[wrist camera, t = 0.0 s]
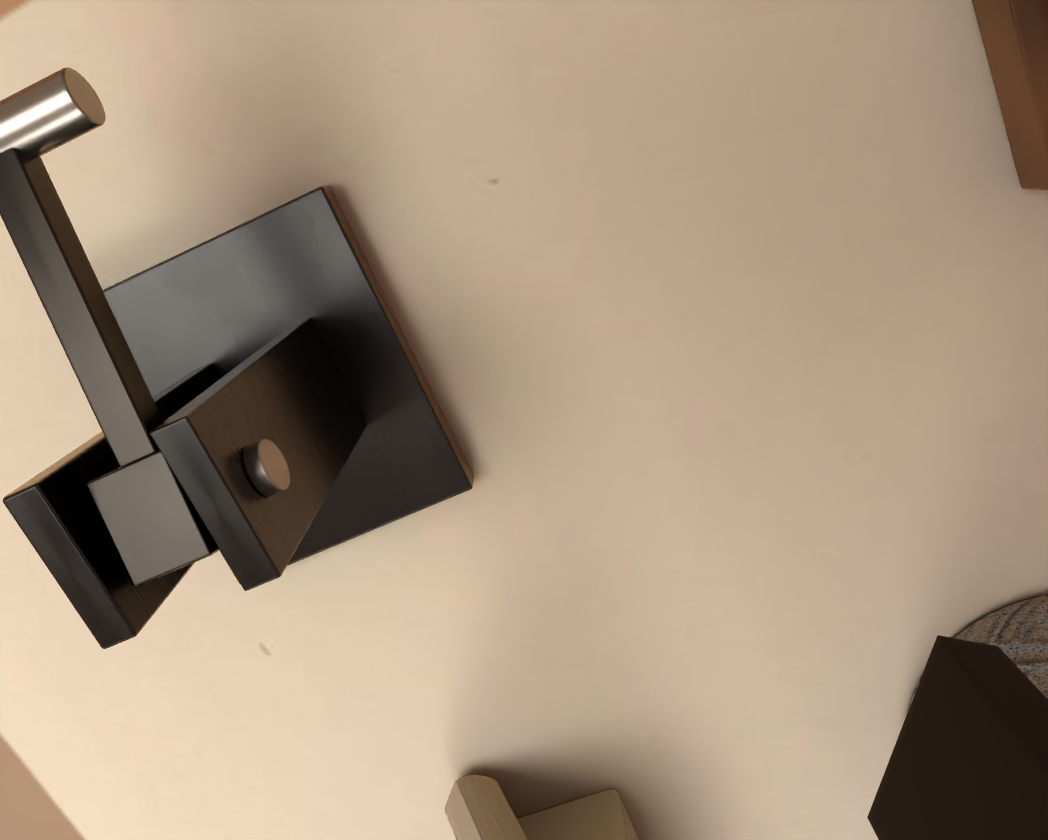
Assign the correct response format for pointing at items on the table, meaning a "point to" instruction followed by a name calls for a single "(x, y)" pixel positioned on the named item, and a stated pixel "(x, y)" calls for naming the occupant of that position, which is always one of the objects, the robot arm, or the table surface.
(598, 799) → the digital clock
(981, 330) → the table surface
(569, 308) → the table surface
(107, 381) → the lever
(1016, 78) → the button block
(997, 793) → the robot arm
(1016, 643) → the vase
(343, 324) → the bracket
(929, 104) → the table surface
